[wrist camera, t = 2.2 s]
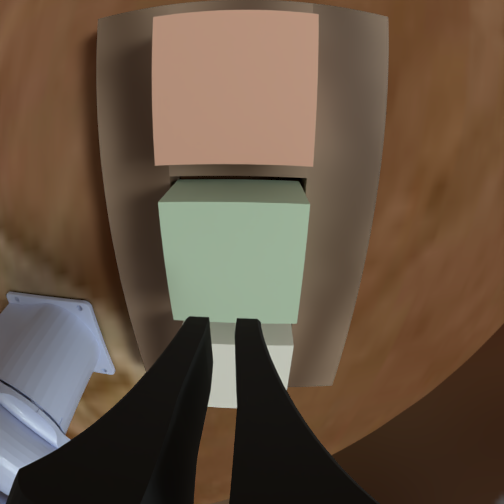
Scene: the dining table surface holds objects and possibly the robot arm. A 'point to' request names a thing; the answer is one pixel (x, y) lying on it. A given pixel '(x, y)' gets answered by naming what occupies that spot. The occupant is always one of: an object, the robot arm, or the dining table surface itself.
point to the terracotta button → (235, 87)
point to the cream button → (224, 359)
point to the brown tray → (250, 174)
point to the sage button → (235, 248)
